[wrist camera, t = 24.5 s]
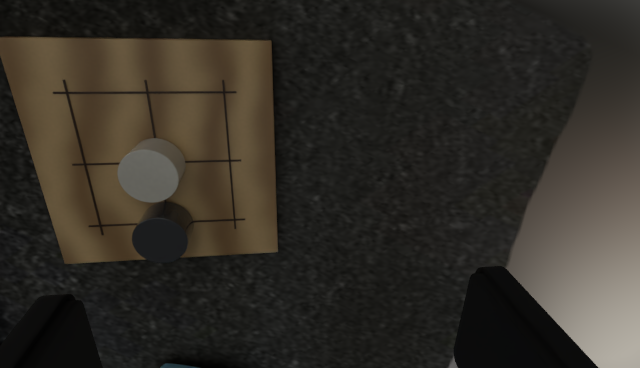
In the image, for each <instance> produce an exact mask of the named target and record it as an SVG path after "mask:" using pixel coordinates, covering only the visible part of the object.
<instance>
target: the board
mask: <svg viewBox="0 0 640 368" xmlns="http://www.w3.org/2000/svg"><path fill="white" fill-rule="evenodd" d="M0 56H1V59H2V62H3V66H4V69H5V72H6V75H7V78H8V82H9V85H10V88H11V91H12V94H13V98H14V101H15V104H16V107H17V111H18V114H19V117H20V120H21V123H22V127H23V130H24V133H25V136H26V140H27V143H28V146H29V149H30V152H31V156H32V159H33V162H34V165H35V169H36V172H37V175H38V178H39V181H40V185H41V188H42V191H43V194H44V198H45V201H46V204H47V207H48V210H49V214H50V217H51V220H52V223H53V227H54V230H55V233H56V236H57V239H58V243H59V246H60V249H61V252H62V256H63V259H64V262H65V264H72V263H90V262H108V261H126V260H144V259H145V258H143V257H142V256H140V255H139V254H138V253H137V251H136V250H135V248H134V246H133V243H132V233H133V231H134V229H135V227H136V226H137V224H138V222H139V221H140V219H141V217H142V216H143V214H144V212H145V211H146V210H147V209H148V208H149V207H150V206H152V205H154V204H157V203H161V202H171V203H175V204H178V205H180V206H182V207H183V208H185V209H186V210H187V211H188V212H189V213H190V215H191V217H192V219H193V222H194V229H193V232H192V235H191V238H190V241H189V244H188V247H187V250H186V251H185V253H184V254H183V255H182V256H181V257H198V256H216V255H234V254H252V253H270V252H278V239H277V205H276V172H275V139H274V106H273V73H272V42H271V40H235V39H161V38H87V37H12V36H4V37H0ZM150 138H158V139H163V140H166V141H169V142H170V143H172V144H174V145H175V146H176V147H177V148H178V149H179V150H180V151H181V153H182V154H183V156H184V159H185V163H186V168H185V173H184V175H183V177H182V179H181V181H180V183H179V185H178V187H177V189H176V191H175V192H174V193H173V195H171V196H170V197H169V198H167V199H166V200H163V201H160V202H154V203H149V202H143V201H140V200H137V199H135V198H133V197H132V196H130V195H129V194H128V193H127V192H126V191H125V190H124V189H123V188H122V186H121V185H120V182H119V180H118V174H117V171H118V166H119V163H120V162H121V160H122V159H123V158H124V157H125V156H126V155H127V154H128V153H129V151H130V150H131V149H132V148H133V147H134V146H135V145H137V144H138V143H139V142H141V141H143V140H146V139H150Z"/></svg>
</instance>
